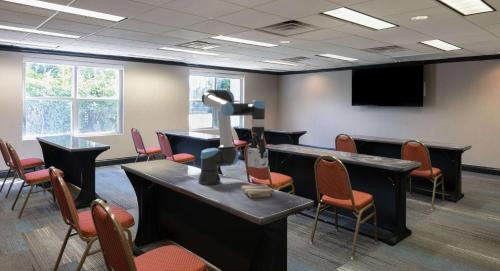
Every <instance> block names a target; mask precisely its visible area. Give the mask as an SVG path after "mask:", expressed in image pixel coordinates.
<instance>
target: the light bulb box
mask: <svg viewBox="0 0 500 271" xmlns="http://www.w3.org/2000/svg"><path fill="white" fill-rule="evenodd" d="M265 151H266V152H264V164H259V152H260V151H259V147H257V148H251V147H250V148H248V149H247V167H251V168H258V169H265V168H268V166H269V165H268V164H269V163H268V162H269V160H268V159H269V149H266V148H265Z"/></svg>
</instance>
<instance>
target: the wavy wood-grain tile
mask: <svg viewBox="0 0 500 271" xmlns="http://www.w3.org/2000/svg"><path fill="white" fill-rule="evenodd" d="M240 188H241V190H243V191H244V193H245V194H246V195H247V196H248V197H249V198H250V199H253V198H255V199H257V198H267V197H271V193H275V189H273V188H272V187H270V186H268V184H266V183H261V184H260V183H259V184H247V185H240Z"/></svg>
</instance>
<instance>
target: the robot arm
mask: <svg viewBox="0 0 500 271" xmlns="http://www.w3.org/2000/svg"><path fill="white" fill-rule="evenodd" d="M201 103H203V105H204V106H206V107H208V108H213V109H214V110H215V111H216V112H217V118H218V121H217V122H218V130H219V131H218V132H219V144H220V145H219V146H218V147H217V148H216V147H211V148H206V149H203V150H201V152H200V174H199V177H198V182H197V183H198V184H200V185H206V186H211V185H218V184H220V183H221V177H220V173H219V167H231V166H234V165H236V164H237V163H238V161H239V158H240V157H239V150H238V149H237V148H236V147H235V145H234V143H233V139H232V138H233V136H232V134H233V132H232V122H231V121H232V120H231V117H235V116H237V117H238V116H239V117H241V116H244V117H245V116H251V125H252V126H251V132H252V136H251V137H252V138H251V144H250V149H251V148H258V149H259V151H260V152H259V164H264V152H266V151H265V149H266V144H265V135H263V134H264V133H265V129H266V128H265V126H266V125H265V124H266V122H265V121H266V119H265V118H266V117H265V116H266V102H265V100H262V99H261V100H259V99H258V100H257V99H256V100H254V99H253V100H252V103H250V102H245V103H240V102H239V103H238V102H237V103H236V102H235V95H234V93H233V92H232V91H231V90H226V89H208V90H206V91H204V92H203V93H202V95H201Z"/></svg>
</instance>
